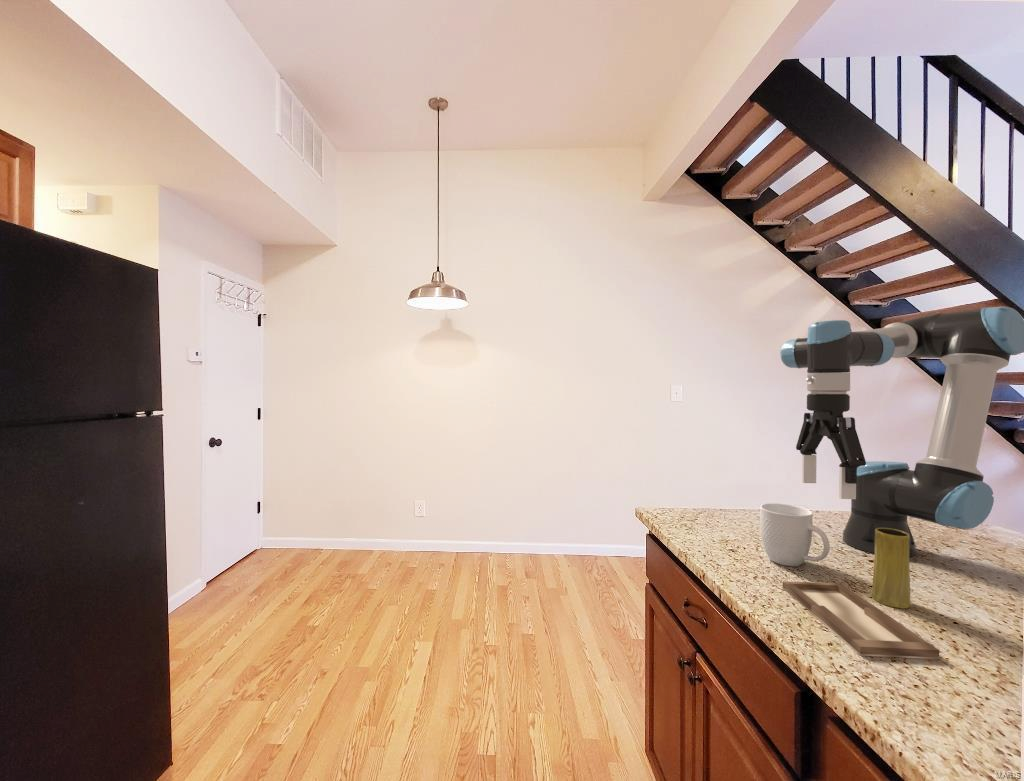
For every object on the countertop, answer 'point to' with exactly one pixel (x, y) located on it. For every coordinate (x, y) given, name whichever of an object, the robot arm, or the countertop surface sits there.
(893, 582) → the vase
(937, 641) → the countertop surface
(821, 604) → the shallow serving tray
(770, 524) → the mug
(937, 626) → the countertop surface
